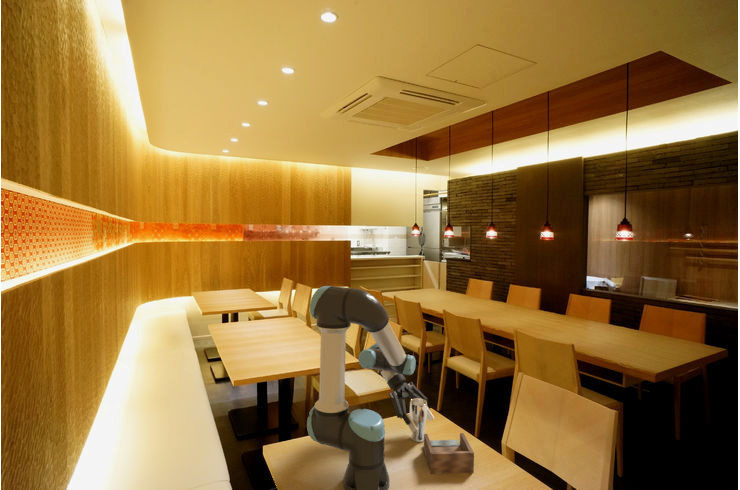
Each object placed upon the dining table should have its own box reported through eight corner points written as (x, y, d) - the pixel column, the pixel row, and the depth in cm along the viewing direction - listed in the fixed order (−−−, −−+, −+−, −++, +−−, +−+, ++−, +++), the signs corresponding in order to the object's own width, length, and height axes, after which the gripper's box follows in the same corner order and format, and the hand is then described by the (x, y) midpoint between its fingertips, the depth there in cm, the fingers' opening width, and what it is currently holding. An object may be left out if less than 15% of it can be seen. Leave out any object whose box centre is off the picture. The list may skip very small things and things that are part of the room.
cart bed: (430, 473, 137) (431, 454, 137) (421, 445, 154) (422, 428, 154) (473, 472, 138) (474, 452, 138) (459, 444, 155) (460, 427, 154)
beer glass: (406, 434, 162) (407, 399, 161) (422, 432, 164) (422, 396, 163) (413, 444, 155) (414, 406, 154) (429, 441, 157) (430, 404, 156)
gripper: (405, 373, 177) (434, 418, 168) (370, 390, 160) (400, 441, 151) (415, 364, 173) (445, 410, 164) (380, 380, 156) (412, 433, 147)
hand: (424, 425), depth 157 cm, fingers open, 11 cm apart
